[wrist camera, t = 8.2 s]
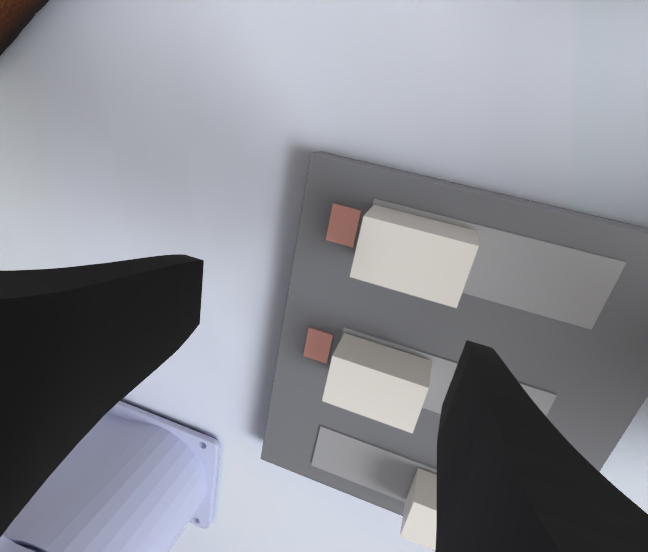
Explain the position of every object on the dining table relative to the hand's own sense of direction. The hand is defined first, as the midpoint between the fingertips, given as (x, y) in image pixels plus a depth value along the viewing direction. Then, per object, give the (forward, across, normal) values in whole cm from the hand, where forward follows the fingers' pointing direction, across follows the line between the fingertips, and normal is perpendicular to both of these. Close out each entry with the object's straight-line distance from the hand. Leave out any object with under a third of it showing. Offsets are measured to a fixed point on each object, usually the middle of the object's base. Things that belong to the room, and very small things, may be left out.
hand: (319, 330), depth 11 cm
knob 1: (+7, -2, -1) cm, 7 cm away
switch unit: (+8, -4, +5) cm, 11 cm away
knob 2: (+7, -2, +5) cm, 9 cm away
